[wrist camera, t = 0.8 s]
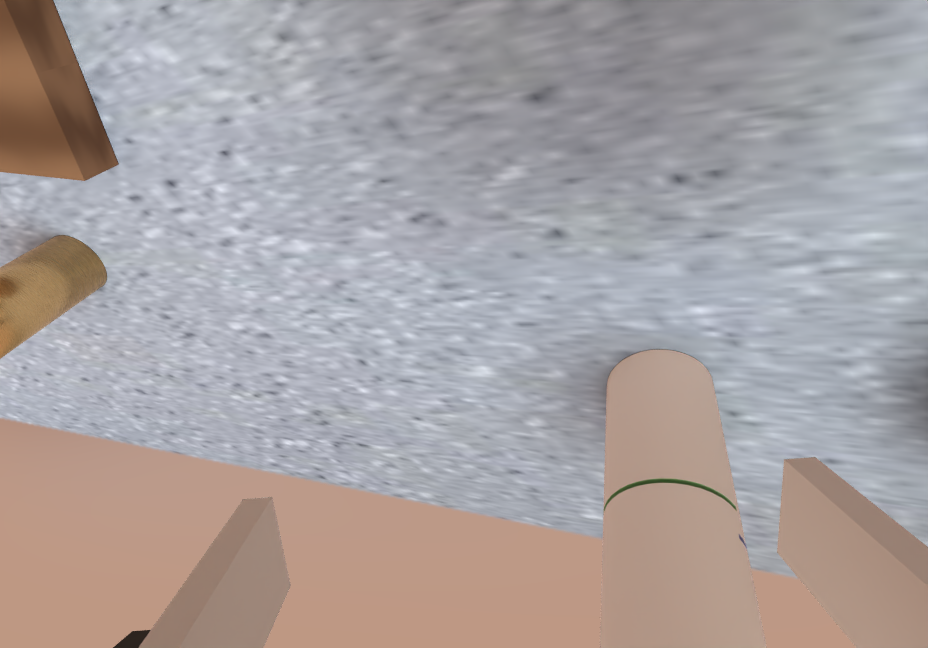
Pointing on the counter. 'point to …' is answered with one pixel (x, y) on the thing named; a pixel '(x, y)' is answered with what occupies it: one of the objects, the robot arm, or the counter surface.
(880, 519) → the robot arm
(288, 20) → the counter surface
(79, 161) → the walnut jig plate
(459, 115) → the counter surface
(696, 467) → the cylindrical container
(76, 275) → the brass bushing
